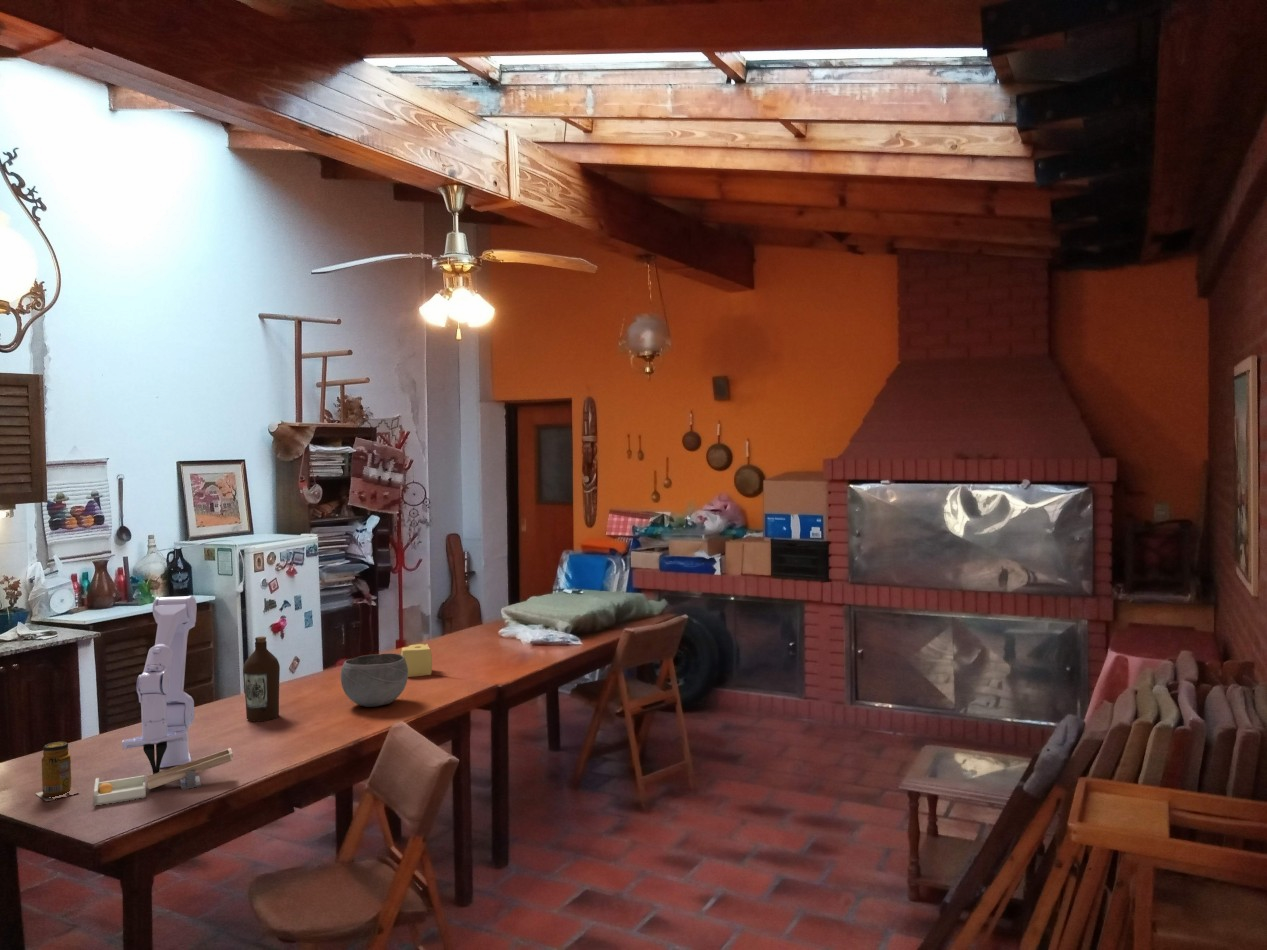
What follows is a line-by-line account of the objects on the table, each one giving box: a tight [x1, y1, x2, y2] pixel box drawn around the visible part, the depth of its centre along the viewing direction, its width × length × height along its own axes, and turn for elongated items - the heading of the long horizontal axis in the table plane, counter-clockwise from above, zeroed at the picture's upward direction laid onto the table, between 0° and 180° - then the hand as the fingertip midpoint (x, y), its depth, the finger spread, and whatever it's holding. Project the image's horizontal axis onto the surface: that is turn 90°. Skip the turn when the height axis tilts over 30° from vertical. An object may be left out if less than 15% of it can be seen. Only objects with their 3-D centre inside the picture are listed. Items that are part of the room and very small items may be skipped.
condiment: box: [35, 741, 72, 802], centre depth 233 cm, size 7×8×12 cm
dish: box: [93, 775, 147, 807], centre depth 232 cm, size 10×11×4 cm
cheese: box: [400, 643, 433, 678], centre depth 354 cm, size 10×11×10 cm
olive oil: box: [242, 636, 281, 722], centre depth 298 cm, size 11×11×25 cm
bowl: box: [340, 652, 409, 708], centre depth 311 cm, size 21×21×15 cm
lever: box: [146, 747, 235, 790], centre depth 242 cm, size 11×20×2 cm, turn 118°
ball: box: [98, 783, 113, 794], centre depth 230 cm, size 3×3×3 cm
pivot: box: [179, 770, 202, 790], centre depth 239 cm, size 7×4×4 cm, turn 27°
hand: (156, 772), depth 242 cm, fingers closed
